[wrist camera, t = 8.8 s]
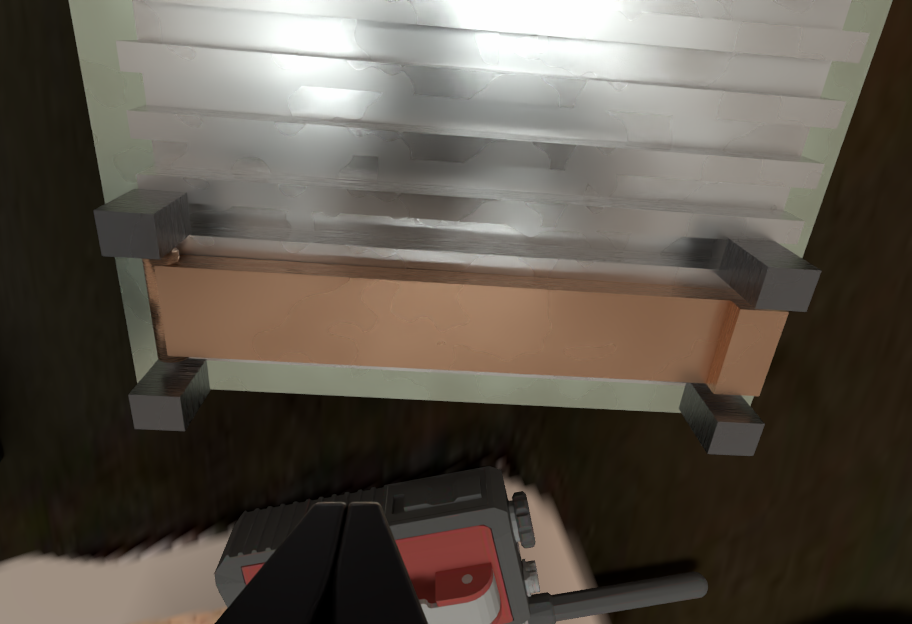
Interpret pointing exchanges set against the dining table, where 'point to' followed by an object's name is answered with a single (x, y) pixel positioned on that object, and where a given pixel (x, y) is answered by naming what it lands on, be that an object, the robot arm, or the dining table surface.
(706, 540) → the dining table surface
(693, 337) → the strap
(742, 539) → the dining table surface
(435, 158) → the heat sink board
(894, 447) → the dining table surface
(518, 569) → the walkie-talkie
